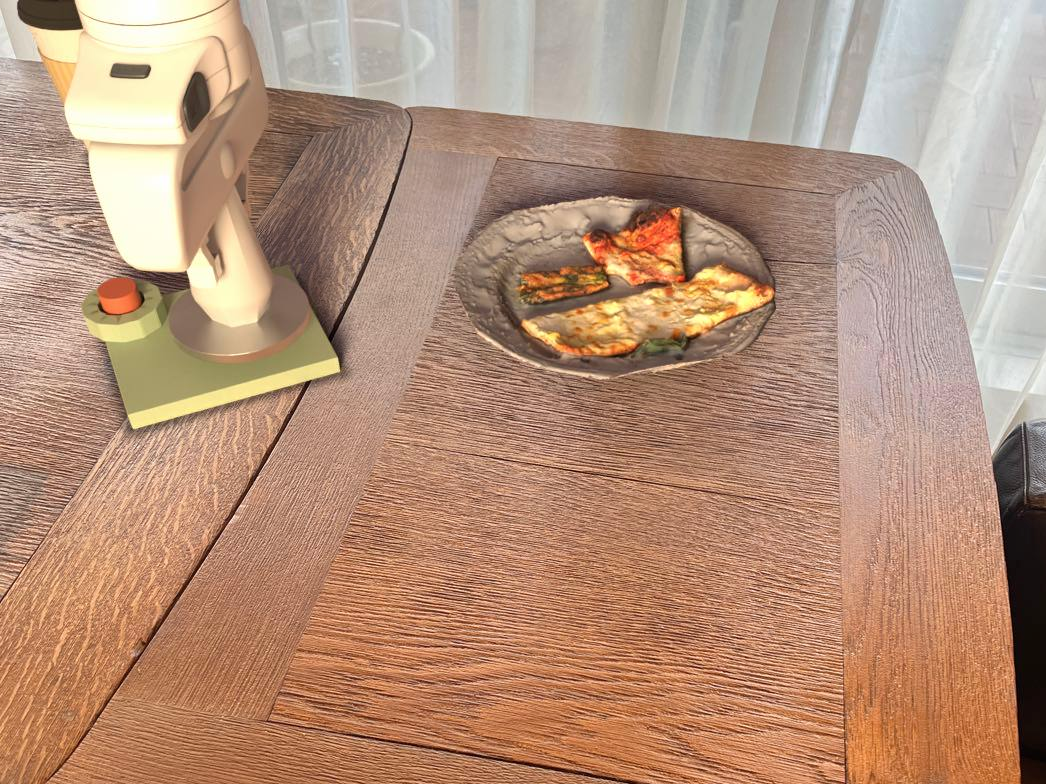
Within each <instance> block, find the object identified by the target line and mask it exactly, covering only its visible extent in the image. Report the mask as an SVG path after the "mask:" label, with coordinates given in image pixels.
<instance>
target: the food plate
mask: <svg viewBox="0 0 1046 784" xmlns="http://www.w3.org/2000/svg"><path fill="white" fill-rule="evenodd" d="M453 275H454V278H453V284H454V287H455V291H456V294H457V298H458V300H459V302H460V306H462V308H463V312H464V314H465V315H466V318H467V319H468V321H469V323H470V325H471V327H472V328H473V330H474V332H475V333H476V335H478V337H480V338H481V339H483V340H485V342H488V344H490V345H491V346H494V347H496V348H498V350H500V351H503V352H504V353H506V354H508V355H509V356H511V357H513V358H516V359H517V360H519V361H520V362H522V363H523V362H525V363H526V364H529V365H531V366H533V367H537V368H540V369H544V370H547V371H551V372H555V373H558V374H559V373H560V374H565V375H569V376H574V377H580V378H589V379H596V380H600V381H604V380H605V381H608V380H611V379H616V378H626V377H628V376H629V377H631V376H633V375H637V374H638V375H640V374H647V373H653V374H655V373H657V372H663V371H668V370H672V369H678V368H680V367H684V366H685V367H686V366H693V365H694V366H695V365H697V364H701V363H703V362H712V361H714V360H719V361H721V360H722V359H728V358H729V357H731V356H732V355H733V356H734V355H737V354H739V353H741V352H744V351H745V350H746V349H747V348H750V347H751V346H752V345H753V344H754V343H755V342H756V341H757V340H759V337H760V336H761V334H762V332H763V330H764V328H765V327H766V326H767V324H768V322H769V320H771V317H772V316H773V315H774V312H776V311H777V304H776V300H775V298H776V297H775V296H776V290H777V289H776V288H777V287H776V286H777V285H776V278H775V277H774V276H773V275H772V270H771V268H770V266H769V264H767V262H766V260H765V258H764V256H763V254H762V252H761V251H760V249H759V248H758V246H756V244H754V243H752V241H751V240H750V239H748V238H747V237H746V236H745V235H744V234H743V233H742V232H740V231H739V230H737V229H736V228H734V227H732V226H730V225H728V224H726V223H724V222H722V221H721V220H718V219H716V218H713V217H712V216H710V215H708V214H706V213H703V212H702V211H700V210H698V209H695V208H692V207H690V206H687V205H684V204H678V203H677V204H675V203H672V202H670V203H668V202H665V203H661V202H660V201H654V199H650V198H641V199H633V198H626V197H621V196H618V195H616V196H615V195H611V196H607V195H606V196H603V197H602V196H599V197H596V198H593V197H590V198H586V199H578V200H575V201H574V200H572V201H563V202H558V203H556V204H555V203H552V204H549V205H548V204H546V205H541V206H536V207H529V209H525V208H523V209H519V210H512V211H511V212H509V213H507V214H504V215H502V216H500V217H499V218H494V219H493V220H492V221H490V222H489V223H487V224H486V225H485V226H484V227H483V228H481V229H480V230H479V231H478V232H477V233H476V235H475V236H474V237H472V238H471V240H470V241H469V242H468V243H467V244H466V246H465V247H464V249H463V250H462V251H461V253H460V254H459V257H457V258H456V262H455V266H454V273H453Z"/></svg>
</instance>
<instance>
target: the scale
mask: <svg viewBox="0 0 1046 784" xmlns="http://www.w3.org/2000/svg"><path fill="white" fill-rule="evenodd" d="M271 271H272V273H273V274H276V275H279V276H282V277H285V278H287V279H289V280H291V281H293V282H295V283H296V284H297V285H299V286H300V287H301V284H300V283H299V281H298V279H297V277H296V276H295V274H294V272H293V269H292V268H291V267H290V265H289V264H285V265H281V266H276V267H273V268H271ZM131 279H132V280H133V281H134V282H135V283H136V285H137V288H138V291H139V294H140V296H141V299H142V305H141V307H140V308H138V309H137V310H135V311H134V312H131V313H127V314H123V315H119V316H117V315H108V314H107V313H105V311H104V310H103V307H102V305H101V302H100V299H99V297H98V294H97V289H98V287H97V288H95V289H93V290H92V291H90V292H88V294H86V296H85V298H84V299H83V301H82V303H81V304H80V310H81V313H82V317H83V319H84V321H85V324H86V326H87V329H88V331H89V333H90V335H92V337H95V338H97V339H98V340H101V341H103V342H105V345H106V348H107V352H108V356H109V357H110V362H111V365H112V368H113V372H114V375H115V378H116V382H117V386H118V388H119V391H120V395H121V398H122V401H123V405H124V408H125V411H126V415H127V418H128V420H129V423H130V426H131V428H132V429H133V430H136V429H139V428H143V427H146V426H151V425H154V424H157V423H161V422H164V421H169V420H172V419H176V418H180V417H183V416H186V415H190V414H194V413H197V412H201V411H204V410H207V409H211V408H216V407H219V406H222V405H226V404H230V403H232V402H233V403H234V402H236V401H240V400H243V399H248V398H252V397H254V396H258V395H261V394H265V393H268V392H273V391H276V390H279V389H283V388H287V387H291V386H293V385H297V384H300V383H305V382H308V381H312V380H316V379H319V378H323V377H326V376H330V375H333V374H337V373H340V372H341V366H340V361H339V356H338V354H337V353H336V351H335V350H334V349H335V348H334V347H333V345H332V344H331V342H330V339H329V337H328V336H327V334H326V332H325V330H324V329H323V327H322V325H321V323H320V321H319V318H318V317H317V315H316V314H315V311H314V310H313V308H312V306H311V304H310V303H309V306H310V312H311V316H310V321H309V325H308V327H307V329H306V330H305V332H304V333H303V334H302V336H301V337H300V338H299V339H298V340H297V341H295V342H294V343H293V344H292V345H290V346H289V347H287V348H286V349H284V350H282V351H280V352H278V353H276V354H274V355H271V356H269V357H266V358H263V359H259V360H255V361H251V362H244V363H234V364H221V363H212V362H207V361H203V360H199V359H196V358H194V357H192V356H190V355H188V354H186V353H185V352H183V351H182V350H181V349H180V348H179V347H178V346H177V345H176V344H175V342H174V340H173V338H172V336H171V333H170V330H169V326H168V317H169V313H170V310H171V308H172V306H173V305H174V303H175V302H176V301H177V300H178V298H179V297H180V296H182V295H183V294H184V293H185V292H186V291H188V290H189V289H190V288H187V289H182V290H178V291H175V292H170V293H166V294H163V295H162V293H161V290H160V288H159V286H158V285H156V284H153V283H152V282H150V281H148V280H145V279H135V278H131Z"/></svg>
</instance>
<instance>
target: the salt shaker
mask: <svg viewBox="0 0 1046 784" xmlns="http://www.w3.org/2000/svg"><path fill="white" fill-rule="evenodd" d="M220 158H221V166H222V170H223V173H224V176H225V178H226V179H228V178H230V177H231V176H232V175H233V174H234V172H235V170H236V166H237V162H236V156H235V153H234V150H233V148H232V146H231V143H230V141H225V143H224V144H223V146H222V150H221V155H220ZM207 235H208V238H209V240H208V243H207V244H206V246H207V248H208V250H209V251H210V253H216V254H218V255H219V259H220V266H221V268H222V271H223V273H222V275H221V277H220V279H219V281H218V284H217V286H216V287H215V288H213V289H208V288H196V287H194V286H193V285H192V284H191V283H190V280H189V279H188V281H189V289H191V292H192V295H193V297H194V299H195V301H196V302H197V303H198V304H199V305H200V307H201V308H202V309H203V310H204V311H205V312H206V313H207V314H208V315H209V317H210V318H211V319H212V320H214V321H217V322H219V323H222V324H224V325H227V326H229V327H237V326H242V325H246V324H251V323H255V322H258V321H259V319H260V318H261V317H262V316H263V314H264V313H265V312H266V311H267V309H268V308H269V306H270V301H271V297H272V293H273V288H274V284H275V283H274V276H273V273H272V271H271V269H272V268H271V266H270V264H269V261H268V259H267V257H266V254H265V253H264V250H263V248H262V246H261V243H260V241H259V238H258V237H257V234H256V231H255V230H254V227H253V225H252V223H251V219H250V220H249V218H248V215H247V213H246V211H245V208H244V206H243V204H242V201H241V199H240V197H239V194H238V192H237V190H236V187H235V185H234V186H233V188H232V190H231V192H230V193H229V195H228V197H227V199H226V201H225V203H224V205H223V206H222V208H221V210H220V212H219V214H218V216H217V217H216V219H215V221H214V223H213V225H212V227H211V228H210V230H209V232H208V234H207Z"/></svg>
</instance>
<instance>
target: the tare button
mask: <svg viewBox="0 0 1046 784" xmlns="http://www.w3.org/2000/svg"><path fill="white" fill-rule="evenodd" d="M132 279H133V278H129V277H121V276H120V277H113V278H110V279H107V280H105V281H103V282H102V283H101V284H100V285H99V286H98V287H97V288H98V289H97V288H96V289H97V294H98V297H99V299H100V302H101V305H102V307H103V310H104V311H105V313H107V314H108V315H117V316H119V315H123V314H127V313H131V312H134V311H135V310H137V309H138V308H140V307H141V305H142V299H141V296H140V294H139V291H138V288H137V285H136V283H135V282H134V281H133V280H132Z"/></svg>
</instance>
